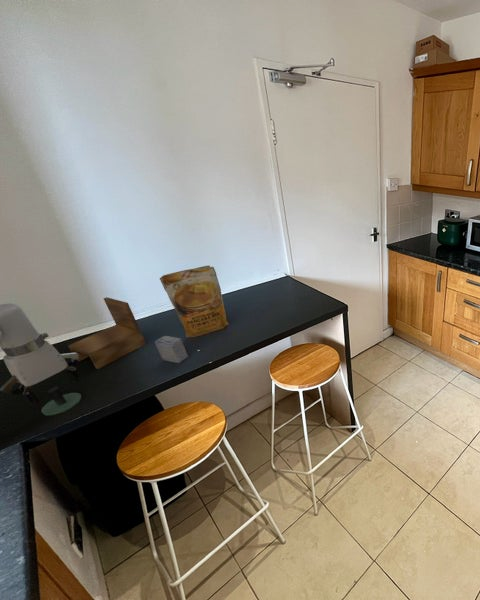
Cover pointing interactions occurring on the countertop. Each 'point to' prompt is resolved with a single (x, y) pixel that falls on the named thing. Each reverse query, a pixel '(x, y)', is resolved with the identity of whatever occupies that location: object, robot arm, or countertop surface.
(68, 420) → the countertop surface
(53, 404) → the lid
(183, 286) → the pancake mix bag
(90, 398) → the countertop surface
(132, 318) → the wooden bookend
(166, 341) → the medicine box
